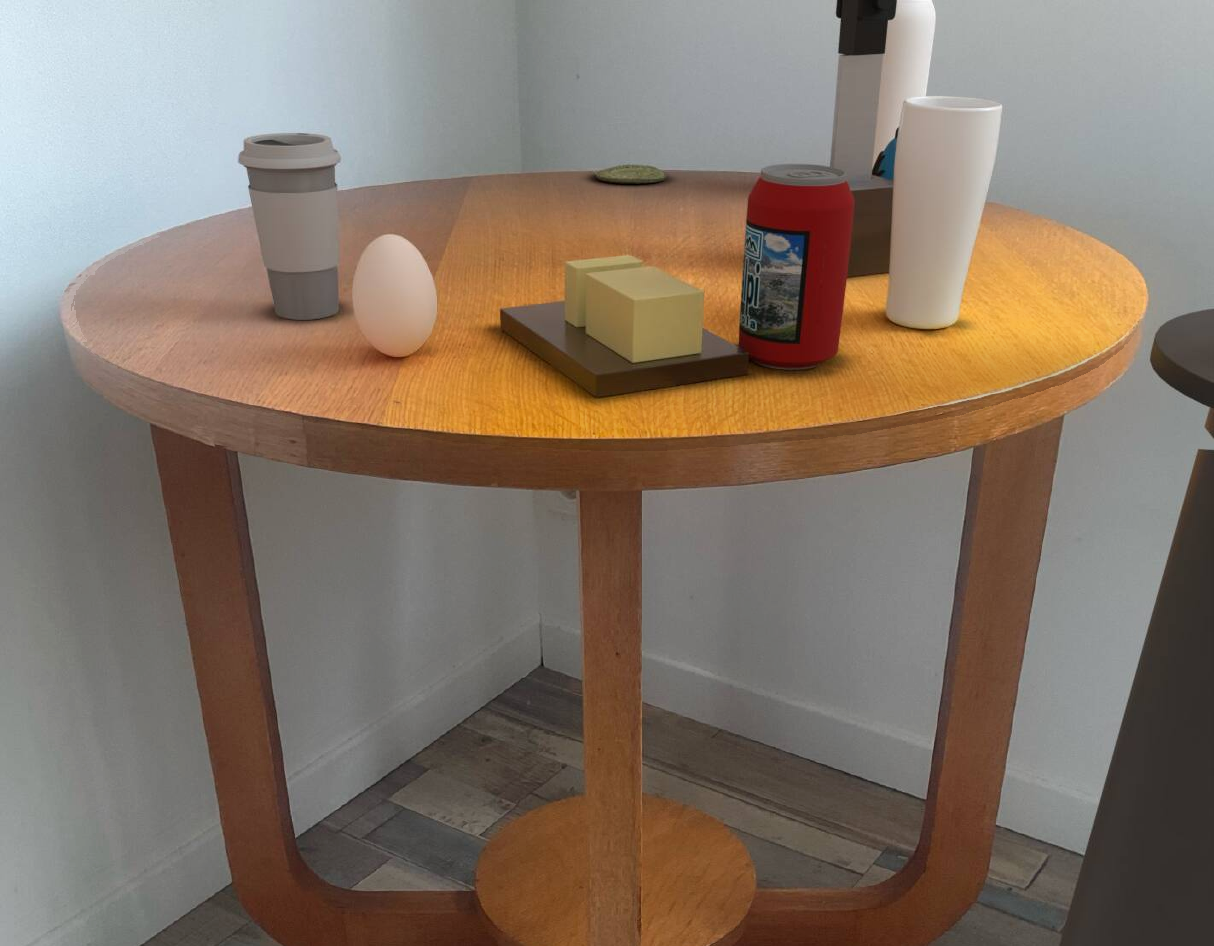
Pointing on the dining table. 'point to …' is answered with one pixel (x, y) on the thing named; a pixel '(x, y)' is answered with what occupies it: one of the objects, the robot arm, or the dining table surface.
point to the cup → (296, 219)
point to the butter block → (644, 313)
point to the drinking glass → (938, 204)
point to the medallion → (631, 174)
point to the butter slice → (577, 282)
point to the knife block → (870, 226)
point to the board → (614, 354)
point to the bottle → (904, 65)
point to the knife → (857, 92)
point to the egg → (394, 296)
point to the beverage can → (795, 265)
